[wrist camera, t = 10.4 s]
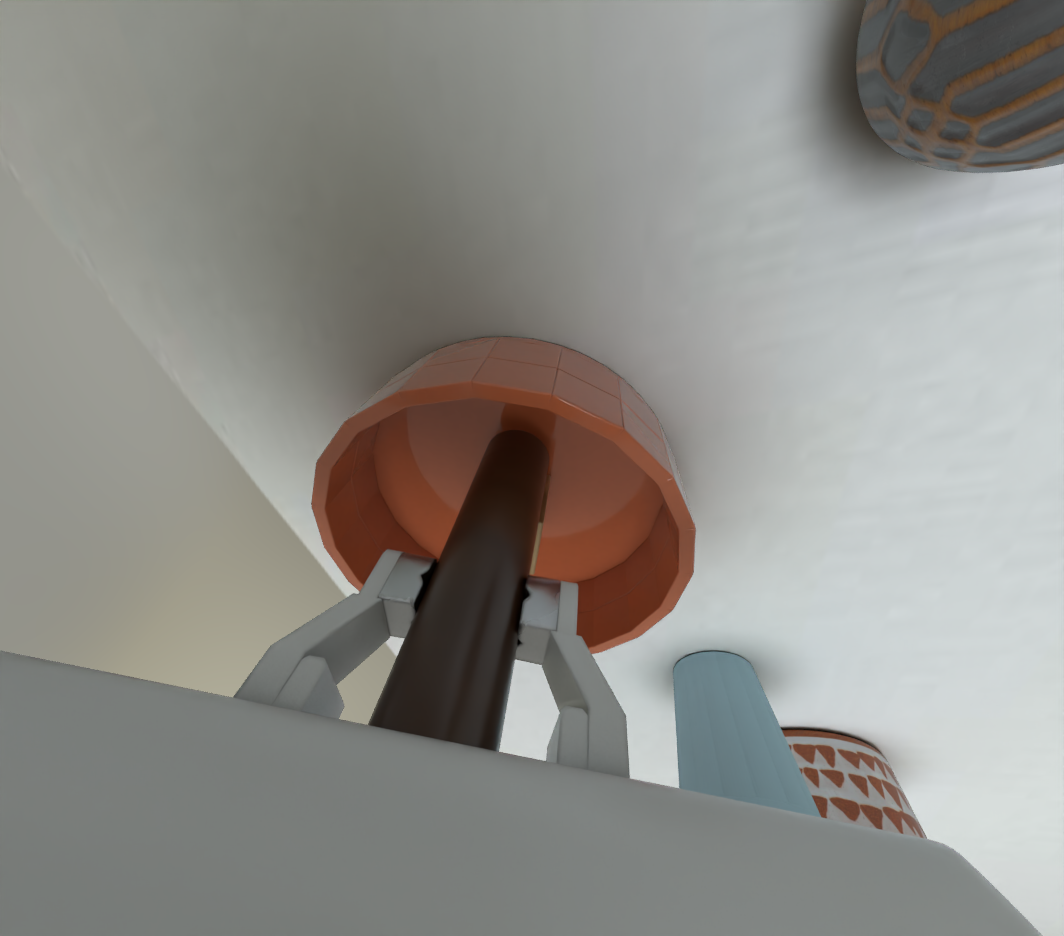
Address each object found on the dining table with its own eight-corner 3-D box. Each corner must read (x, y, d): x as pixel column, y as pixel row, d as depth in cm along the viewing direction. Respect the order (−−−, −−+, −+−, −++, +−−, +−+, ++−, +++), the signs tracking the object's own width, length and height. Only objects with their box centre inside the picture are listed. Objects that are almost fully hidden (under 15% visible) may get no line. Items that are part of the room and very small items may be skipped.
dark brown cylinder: (485, 476, 18) (327, 881, 7) (487, 424, 16) (288, 851, 6) (545, 486, 18) (471, 914, 7) (553, 434, 16) (473, 892, 6)
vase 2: (862, 716, 29) (1007, 1001, 19) (900, 782, 35) (1029, 1031, 24) (687, 738, 35) (725, 963, 25) (743, 791, 41) (794, 994, 30)
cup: (783, 645, 25) (876, 868, 17) (757, 699, 30) (821, 899, 21) (663, 638, 27) (695, 841, 18) (656, 691, 31) (678, 875, 23)
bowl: (386, 560, 26) (348, 627, 22) (344, 308, 16) (261, 346, 12) (626, 604, 25) (632, 682, 21) (728, 369, 16) (776, 430, 12)
